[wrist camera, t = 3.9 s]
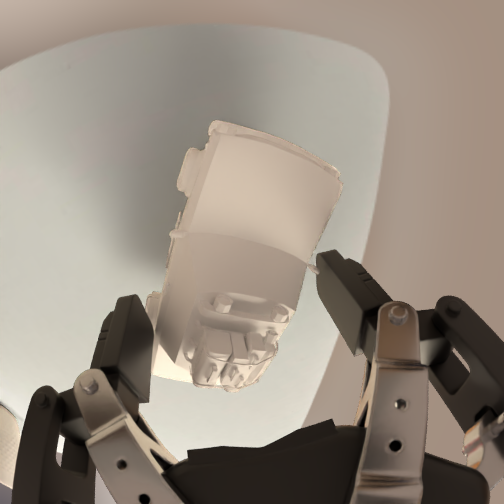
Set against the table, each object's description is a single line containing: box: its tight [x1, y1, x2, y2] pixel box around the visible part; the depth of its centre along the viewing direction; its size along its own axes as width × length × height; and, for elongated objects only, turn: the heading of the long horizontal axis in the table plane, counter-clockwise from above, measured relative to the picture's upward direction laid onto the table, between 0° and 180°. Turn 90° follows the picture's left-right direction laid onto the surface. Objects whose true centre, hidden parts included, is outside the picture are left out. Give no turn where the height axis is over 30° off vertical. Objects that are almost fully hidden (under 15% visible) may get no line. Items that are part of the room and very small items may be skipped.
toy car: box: [145, 120, 343, 392], centre depth 10 cm, size 6×12×7 cm, turn 158°
